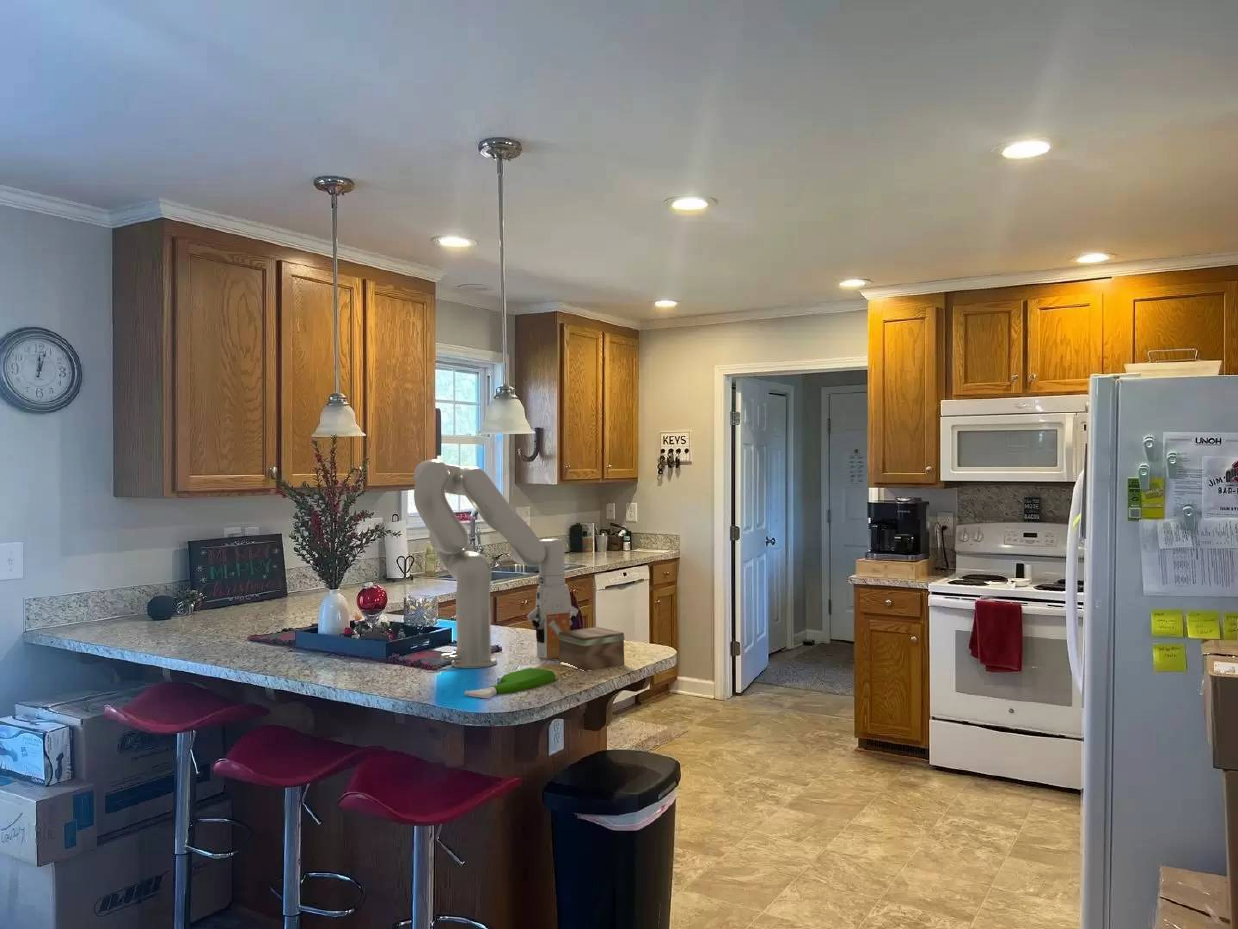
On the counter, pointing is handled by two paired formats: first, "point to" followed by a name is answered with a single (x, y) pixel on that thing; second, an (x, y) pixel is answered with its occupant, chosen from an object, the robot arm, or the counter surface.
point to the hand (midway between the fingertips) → (553, 640)
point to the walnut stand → (592, 648)
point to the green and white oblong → (516, 682)
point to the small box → (553, 634)
